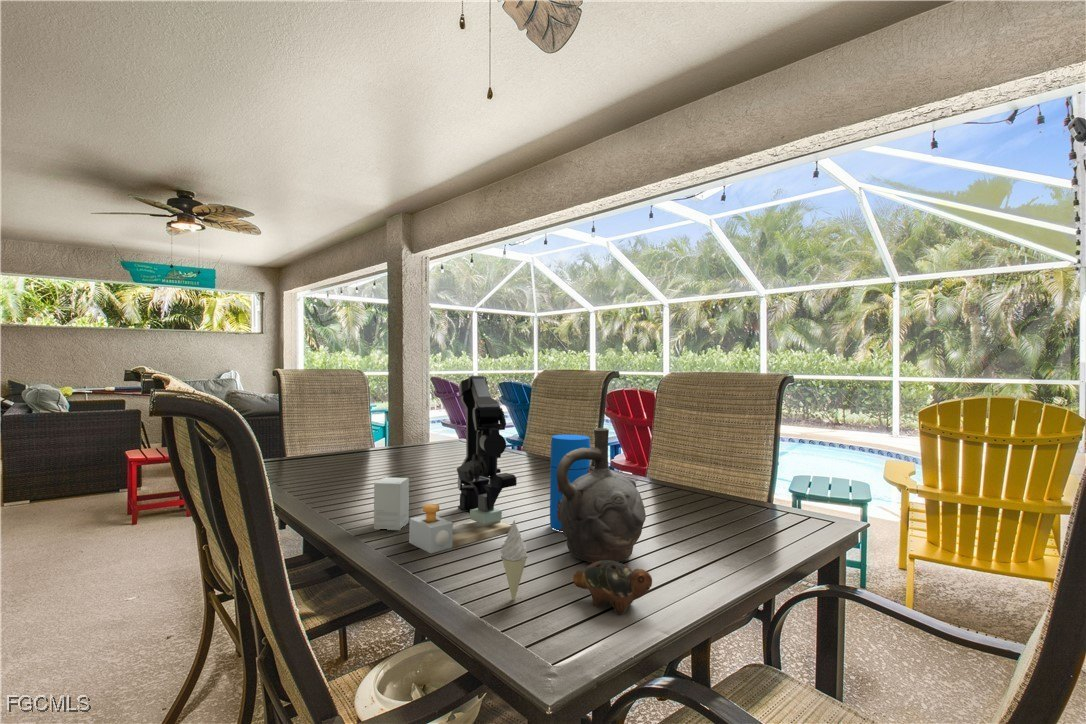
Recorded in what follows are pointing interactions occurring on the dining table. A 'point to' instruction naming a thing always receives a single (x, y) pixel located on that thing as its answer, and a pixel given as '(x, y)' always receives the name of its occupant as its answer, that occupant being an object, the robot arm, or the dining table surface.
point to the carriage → (485, 512)
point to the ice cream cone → (514, 558)
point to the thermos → (576, 470)
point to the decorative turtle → (613, 583)
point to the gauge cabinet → (430, 534)
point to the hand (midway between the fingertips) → (485, 508)
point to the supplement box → (391, 503)
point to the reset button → (431, 512)
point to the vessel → (599, 507)
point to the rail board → (477, 531)
